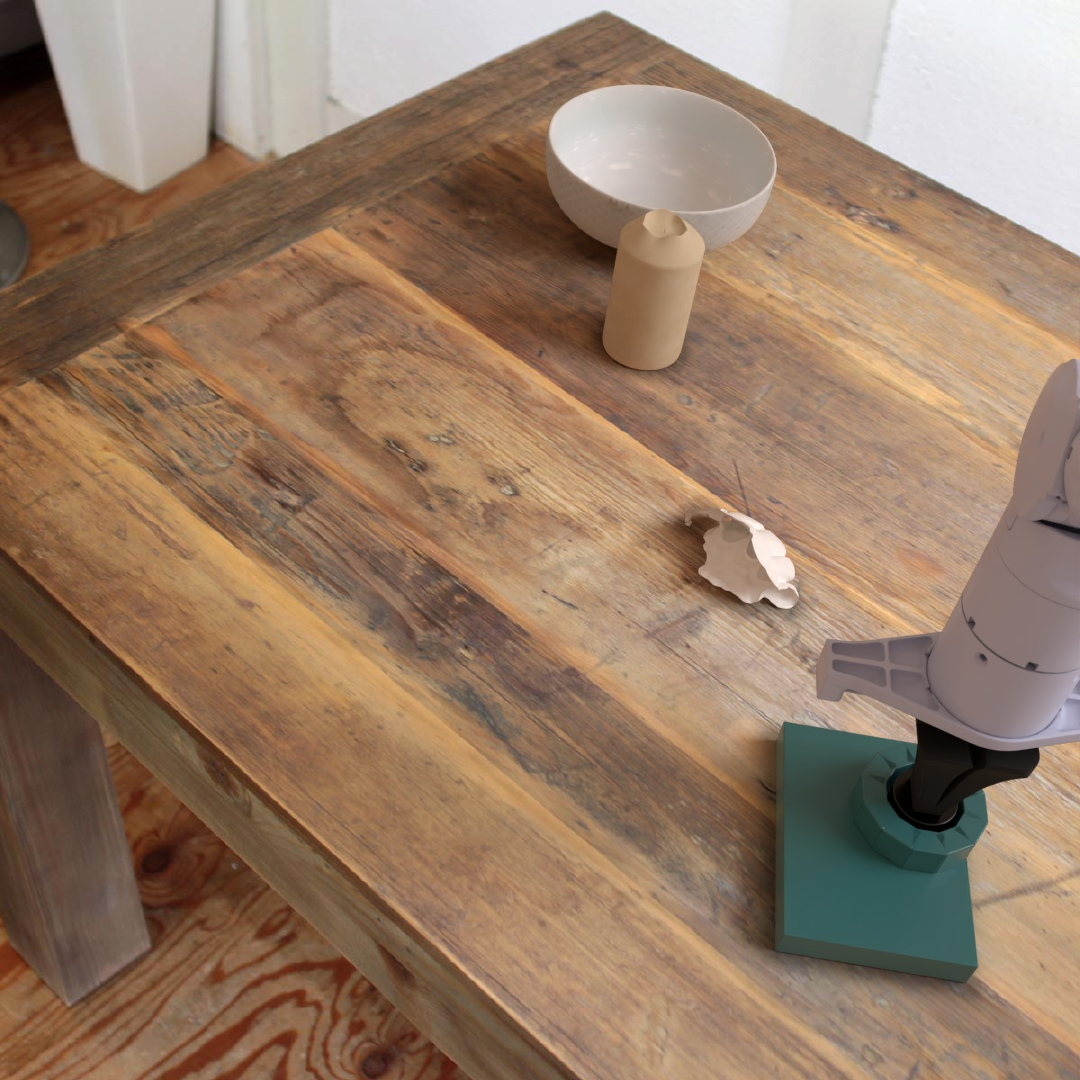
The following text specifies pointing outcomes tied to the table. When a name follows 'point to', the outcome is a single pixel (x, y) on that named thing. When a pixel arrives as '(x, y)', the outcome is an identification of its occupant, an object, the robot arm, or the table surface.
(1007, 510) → the robot arm
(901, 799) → the button
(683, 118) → the cereal bowl
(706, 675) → the table surface
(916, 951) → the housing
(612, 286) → the candle
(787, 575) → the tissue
